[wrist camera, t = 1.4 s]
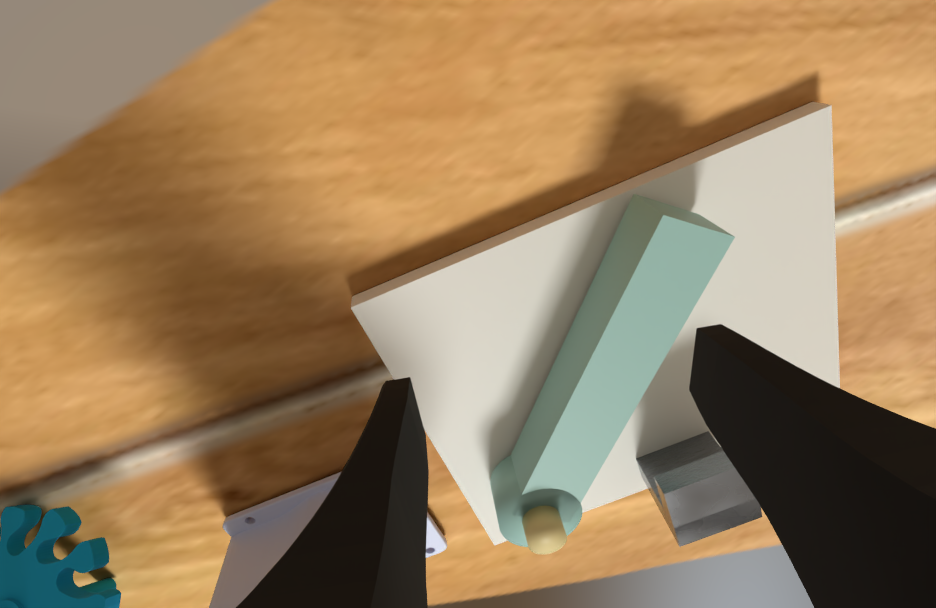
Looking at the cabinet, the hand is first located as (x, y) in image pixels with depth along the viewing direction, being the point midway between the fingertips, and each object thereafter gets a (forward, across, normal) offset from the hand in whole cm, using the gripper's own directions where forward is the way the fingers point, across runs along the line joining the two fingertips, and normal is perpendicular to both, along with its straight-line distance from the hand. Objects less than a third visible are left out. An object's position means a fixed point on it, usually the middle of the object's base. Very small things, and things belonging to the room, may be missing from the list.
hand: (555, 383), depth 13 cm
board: (+9, -5, +8) cm, 13 cm away
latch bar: (+8, -3, +7) cm, 11 cm away
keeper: (+9, -7, +13) cm, 17 cm away
